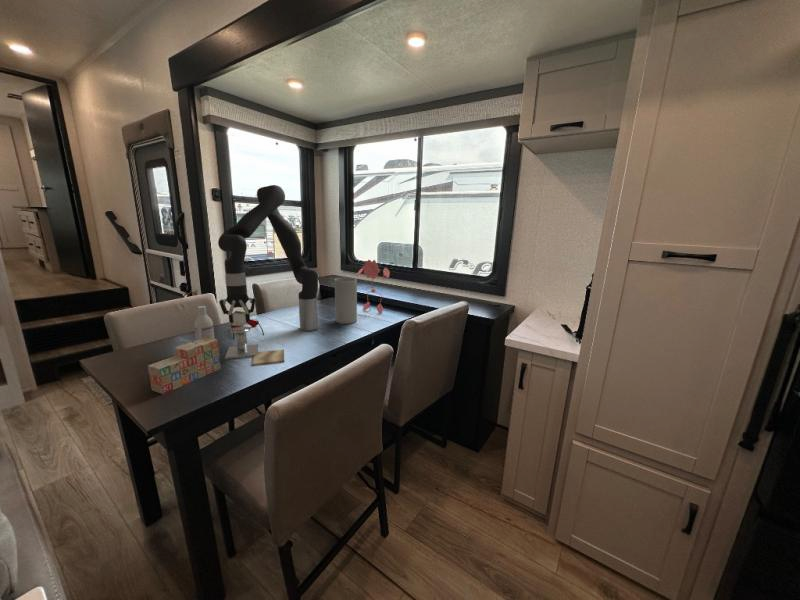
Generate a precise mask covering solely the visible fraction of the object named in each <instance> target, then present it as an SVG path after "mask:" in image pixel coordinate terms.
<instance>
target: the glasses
mask: <svg viewBox="0 0 800 600" xmlns="http://www.w3.org/2000/svg"><path fill="white" fill-rule="evenodd" d="M246 325H247V326H249V327H252V328H255V327H257V326H259V327H260V329H261V333H262V336H264V335H265V333H264V330H263V328H262V325H261V324H260V322H259V320H258V319H257V318H253V319H251V318H250V320H249V321H248V322H247V324H246ZM236 327H244V325H242V326H234V325H232V324H231V323H230V328H236ZM232 337H233V338H232V339H233V340H236V336H235V333H232Z"/></svg>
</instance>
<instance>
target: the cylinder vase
mask: <svg viewBox="0 0 800 600" xmlns="http://www.w3.org/2000/svg"><path fill="white" fill-rule="evenodd" d="M357 281H358V279H357V278H355V277H337V278H334V307H335V308H334V312H335V313H334V316H335V322H336V323H337V324H343V325H347V324H348V325H350V324H354V323H356V322H357V321H358V309H357V308H358V307H357V305H358V290H357V289H358V287H357V286H358V284H357V283H358V282H357Z"/></svg>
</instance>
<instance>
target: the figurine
mask: <svg viewBox="0 0 800 600" xmlns="http://www.w3.org/2000/svg"><path fill="white" fill-rule="evenodd" d="M362 272H363V274H364V275H366V278H367V279H371V280H370V284H371V290H370V291H368V292H367V293H366V295H367V300H369V293H372V294H374V293H376V294H378V295H379V296H380V299H382V296H383V295H382V294H381V293H379V292H377V291H376V289H375V288H374V286H373V280H375V278H379V279H383V280H384V279H385V277H386V278H387V279H389V278H390V275H391V272H390V269H388V268H386V267H384V269H383V277H380V276H379V273H380V272H381V269H380V268H379V264H378V263H377V261H376V260H375V259H373V260H370V259H368V260H365V261H364V265H363V266H362V268H360V269H359V270H358V272H357V274H355V277H358V276H359V275H360V274H362ZM379 301H380V302H379V304H377V307H376V310H377V312H378V314H379V315H381V313H383V310H384V307H383V305H382V304H381V302H382V300H379ZM370 305H371V302H369V301H367V302H366V303H365V304H364V305H363V307H362V311H363V312H365V311H367V309H368V308H369V311H371V310H372V309H371V306H370ZM359 316H361V314H360V313H359ZM364 317H366V318H367V317H368V316H366V315H364Z"/></svg>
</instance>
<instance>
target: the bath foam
mask: <svg viewBox="0 0 800 600" xmlns="http://www.w3.org/2000/svg"><path fill="white" fill-rule="evenodd" d="M197 314H198V315H197V317H196V319H195V320H194V325H193V326H194V334H195V335H194V336H195V341H196V340H200V339H203V338H206V337H207V338H212V339H216V338H215V329H214V323H213V320H212V319H211V318H210V316H209V315H208V314H207V308H206V306H205V305H200V306H197Z"/></svg>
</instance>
